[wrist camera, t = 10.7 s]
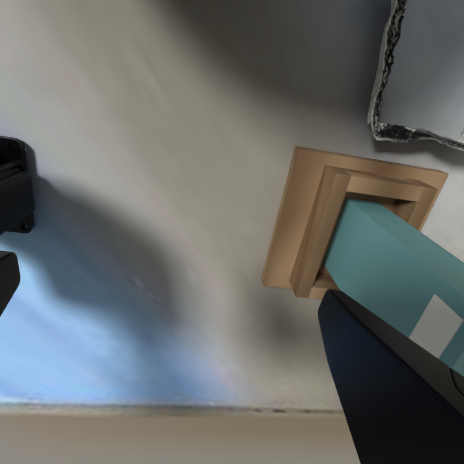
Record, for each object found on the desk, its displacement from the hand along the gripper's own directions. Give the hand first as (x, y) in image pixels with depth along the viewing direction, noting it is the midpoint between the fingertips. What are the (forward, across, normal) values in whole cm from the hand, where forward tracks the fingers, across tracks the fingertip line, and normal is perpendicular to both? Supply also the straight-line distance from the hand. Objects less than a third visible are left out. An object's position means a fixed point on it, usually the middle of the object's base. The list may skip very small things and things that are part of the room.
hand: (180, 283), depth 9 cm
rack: (+13, -12, +3) cm, 18 cm away
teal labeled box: (+12, -12, +3) cm, 17 cm away
